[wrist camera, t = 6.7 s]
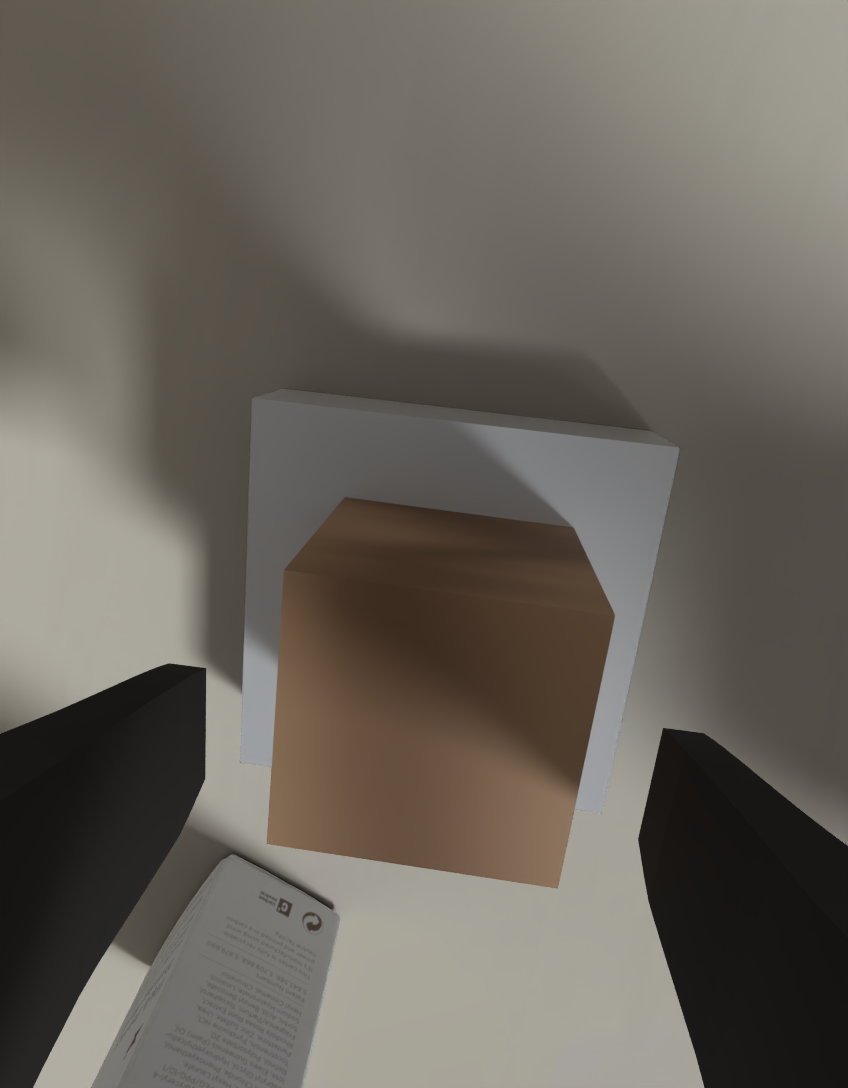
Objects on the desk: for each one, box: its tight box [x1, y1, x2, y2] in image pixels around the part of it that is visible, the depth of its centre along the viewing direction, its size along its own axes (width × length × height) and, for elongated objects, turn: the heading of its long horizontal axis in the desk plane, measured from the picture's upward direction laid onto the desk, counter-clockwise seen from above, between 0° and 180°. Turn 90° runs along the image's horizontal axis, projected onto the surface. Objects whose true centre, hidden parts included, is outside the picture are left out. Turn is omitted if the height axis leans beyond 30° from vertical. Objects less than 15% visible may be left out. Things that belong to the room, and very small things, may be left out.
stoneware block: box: [240, 389, 680, 814], centre depth 18 cm, size 9×9×3 cm
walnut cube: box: [267, 497, 615, 888], centre depth 14 cm, size 5×5×5 cm
